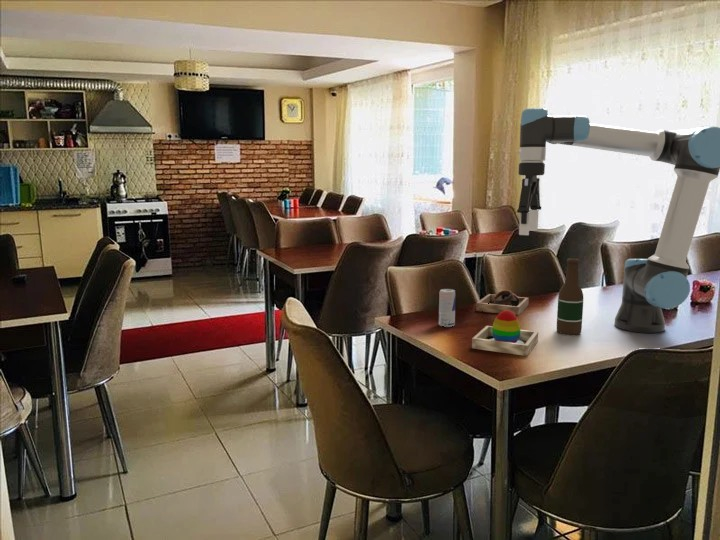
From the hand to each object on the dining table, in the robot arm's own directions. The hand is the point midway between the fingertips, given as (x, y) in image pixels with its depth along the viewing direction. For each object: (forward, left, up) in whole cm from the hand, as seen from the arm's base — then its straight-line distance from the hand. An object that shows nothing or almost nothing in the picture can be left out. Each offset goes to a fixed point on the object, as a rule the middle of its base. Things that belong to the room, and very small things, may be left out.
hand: (528, 232), depth 181 cm
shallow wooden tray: (+3, +12, -33) cm, 35 cm away
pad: (+3, +12, -33) cm, 35 cm away
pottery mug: (+13, -35, -33) cm, 50 cm away
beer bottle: (-12, -11, -33) cm, 37 cm away
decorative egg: (+3, +12, -32) cm, 34 cm away
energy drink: (+26, -2, -33) cm, 42 cm away
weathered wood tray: (+15, -35, -33) cm, 50 cm away
